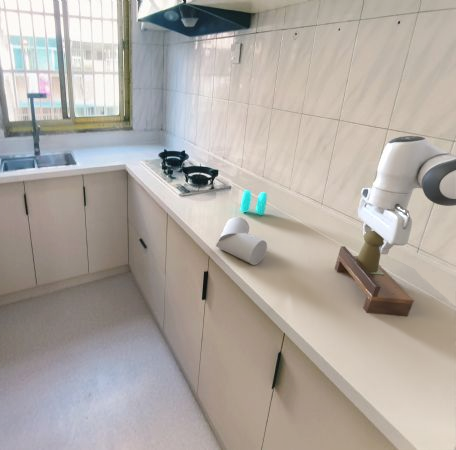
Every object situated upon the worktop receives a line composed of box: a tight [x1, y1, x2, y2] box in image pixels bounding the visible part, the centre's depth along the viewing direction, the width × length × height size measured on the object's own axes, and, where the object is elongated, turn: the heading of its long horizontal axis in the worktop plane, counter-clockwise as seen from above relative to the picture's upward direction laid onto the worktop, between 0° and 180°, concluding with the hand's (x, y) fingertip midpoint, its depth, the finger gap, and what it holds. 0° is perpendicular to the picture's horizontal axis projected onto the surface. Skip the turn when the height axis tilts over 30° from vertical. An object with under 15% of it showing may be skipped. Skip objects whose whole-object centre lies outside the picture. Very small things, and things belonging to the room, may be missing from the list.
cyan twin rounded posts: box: [240, 189, 268, 216], centre depth 146 cm, size 10×10×10 cm
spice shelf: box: [334, 245, 415, 317], centre depth 95 cm, size 10×22×8 cm, turn 174°
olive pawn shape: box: [356, 230, 384, 273], centre depth 96 cm, size 6×6×11 cm
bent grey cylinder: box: [215, 216, 268, 266], centre depth 115 cm, size 18×11×20 cm
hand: (374, 245), depth 95 cm, fingers open, 8 cm apart
